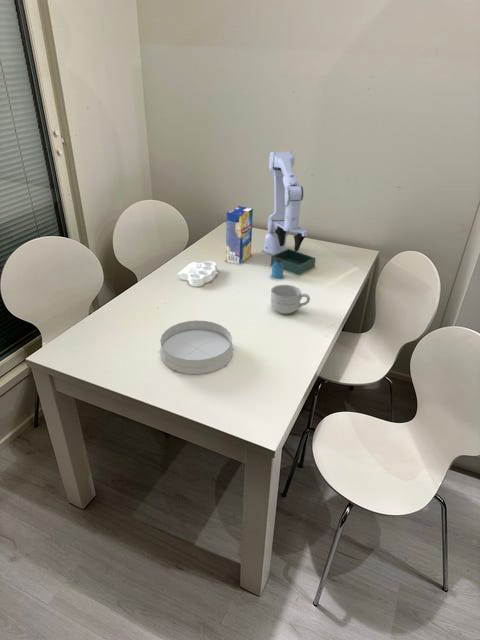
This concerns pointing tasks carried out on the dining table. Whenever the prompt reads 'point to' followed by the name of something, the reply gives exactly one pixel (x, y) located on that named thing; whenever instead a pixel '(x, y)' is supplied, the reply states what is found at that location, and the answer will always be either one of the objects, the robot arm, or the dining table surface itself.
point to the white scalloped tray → (199, 273)
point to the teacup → (287, 298)
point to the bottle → (277, 268)
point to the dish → (196, 347)
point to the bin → (294, 261)
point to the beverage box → (239, 234)
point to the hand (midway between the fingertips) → (289, 248)
